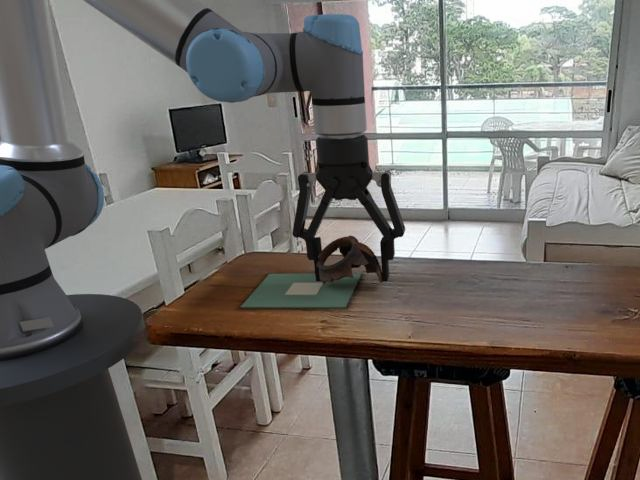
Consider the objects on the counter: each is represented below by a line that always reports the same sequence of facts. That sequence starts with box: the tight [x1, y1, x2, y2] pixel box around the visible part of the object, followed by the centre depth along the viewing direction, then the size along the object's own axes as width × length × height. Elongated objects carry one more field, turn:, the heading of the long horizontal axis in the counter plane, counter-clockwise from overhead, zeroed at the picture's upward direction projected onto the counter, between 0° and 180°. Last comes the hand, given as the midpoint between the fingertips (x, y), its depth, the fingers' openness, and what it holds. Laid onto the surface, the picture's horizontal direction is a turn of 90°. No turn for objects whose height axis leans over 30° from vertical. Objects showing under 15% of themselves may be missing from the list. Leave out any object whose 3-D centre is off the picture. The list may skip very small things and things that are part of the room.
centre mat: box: [240, 272, 362, 310], centre depth 92 cm, size 16×14×1 cm
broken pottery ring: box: [316, 235, 383, 284], centre depth 91 cm, size 12×10×8 cm
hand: (352, 278), depth 92 cm, fingers closed on broken pottery ring, 10 cm apart
